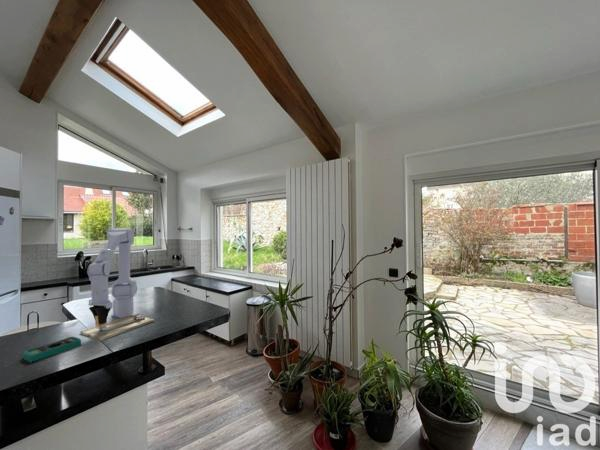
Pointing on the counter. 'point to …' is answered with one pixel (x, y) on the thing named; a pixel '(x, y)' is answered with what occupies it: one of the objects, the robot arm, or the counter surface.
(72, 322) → the counter surface
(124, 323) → the hole gauge board
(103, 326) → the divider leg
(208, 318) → the counter surface
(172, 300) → the counter surface
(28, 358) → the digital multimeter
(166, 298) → the counter surface
